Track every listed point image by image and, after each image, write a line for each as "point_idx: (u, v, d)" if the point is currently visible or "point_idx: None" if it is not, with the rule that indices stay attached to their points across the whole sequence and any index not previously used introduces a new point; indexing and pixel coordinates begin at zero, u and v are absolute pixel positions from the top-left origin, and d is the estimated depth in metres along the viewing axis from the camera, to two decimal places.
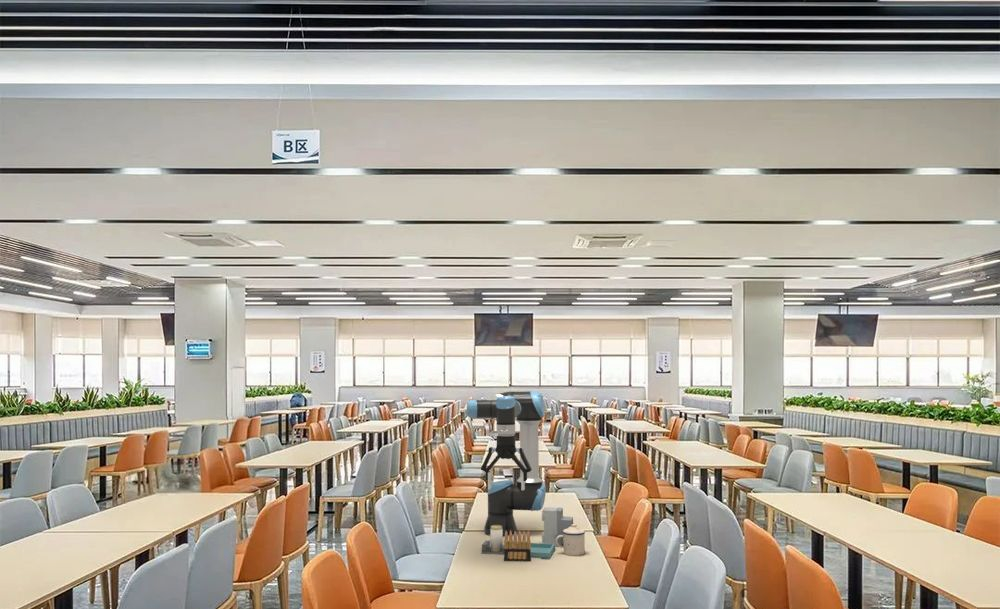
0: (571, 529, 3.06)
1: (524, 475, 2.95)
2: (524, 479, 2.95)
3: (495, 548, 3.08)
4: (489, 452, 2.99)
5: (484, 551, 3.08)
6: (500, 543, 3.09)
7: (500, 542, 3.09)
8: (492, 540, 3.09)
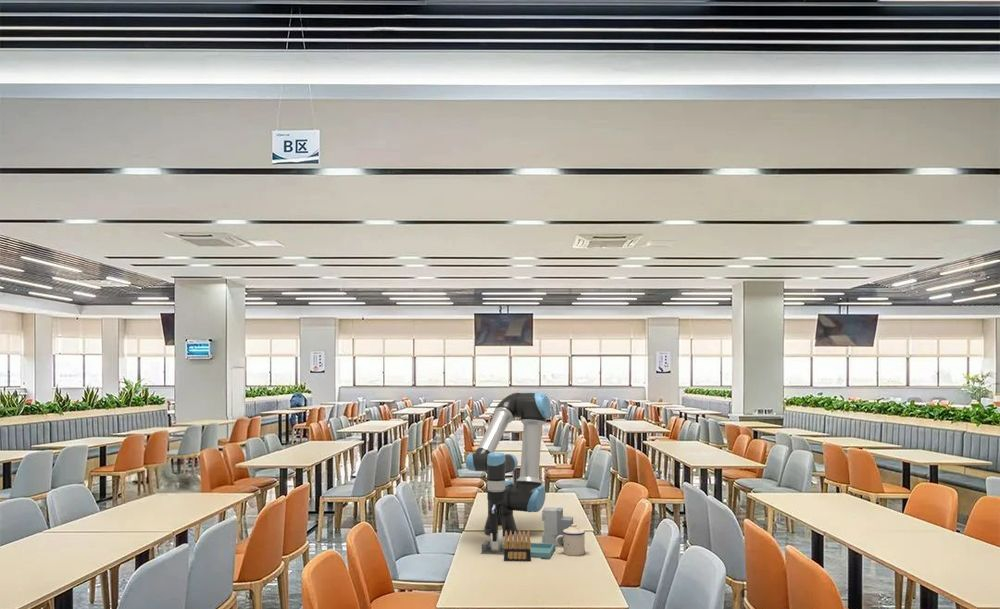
0: (571, 529, 3.06)
1: None
2: (492, 539, 3.07)
3: None
4: None
5: (484, 551, 3.08)
6: (500, 543, 3.09)
7: (501, 542, 3.09)
8: None
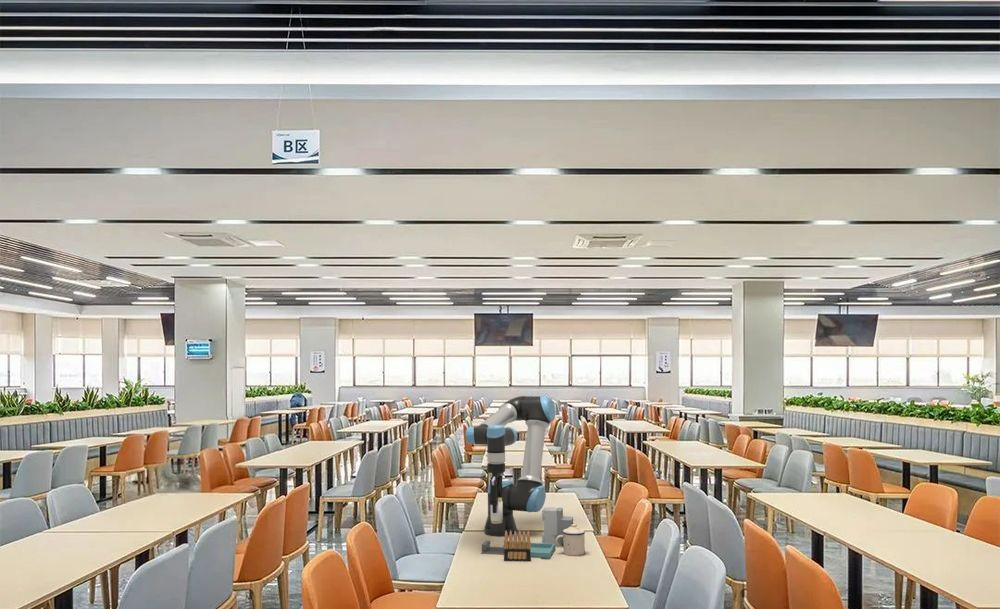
0: (571, 529, 3.06)
1: None
2: (493, 510, 3.08)
3: None
4: None
5: (484, 551, 3.08)
6: (500, 515, 3.10)
7: (501, 513, 3.10)
8: None
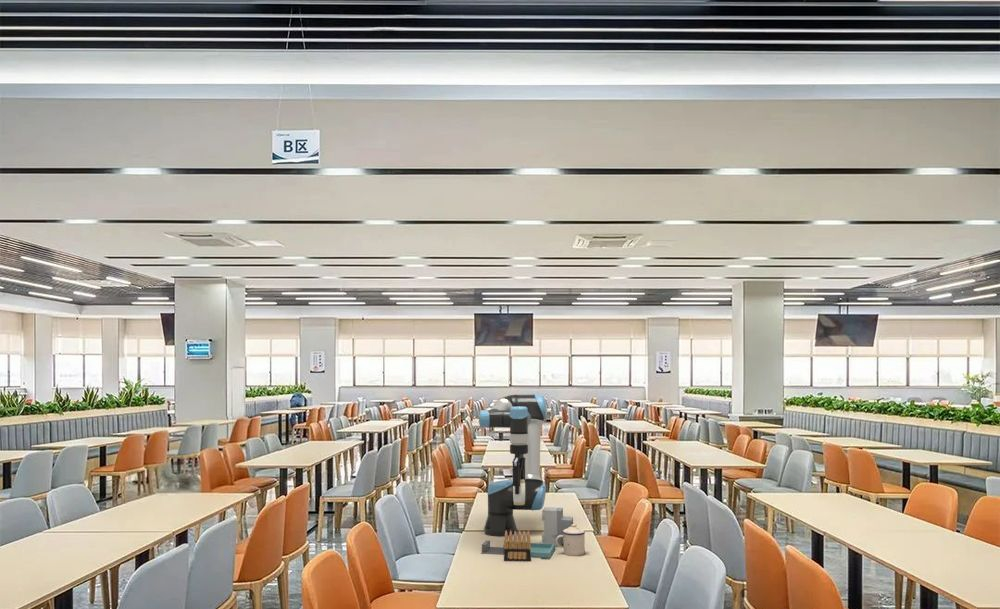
0: (571, 529, 3.06)
1: None
2: None
3: None
4: None
5: (484, 551, 3.08)
6: (523, 496, 3.08)
7: (523, 495, 3.08)
8: None
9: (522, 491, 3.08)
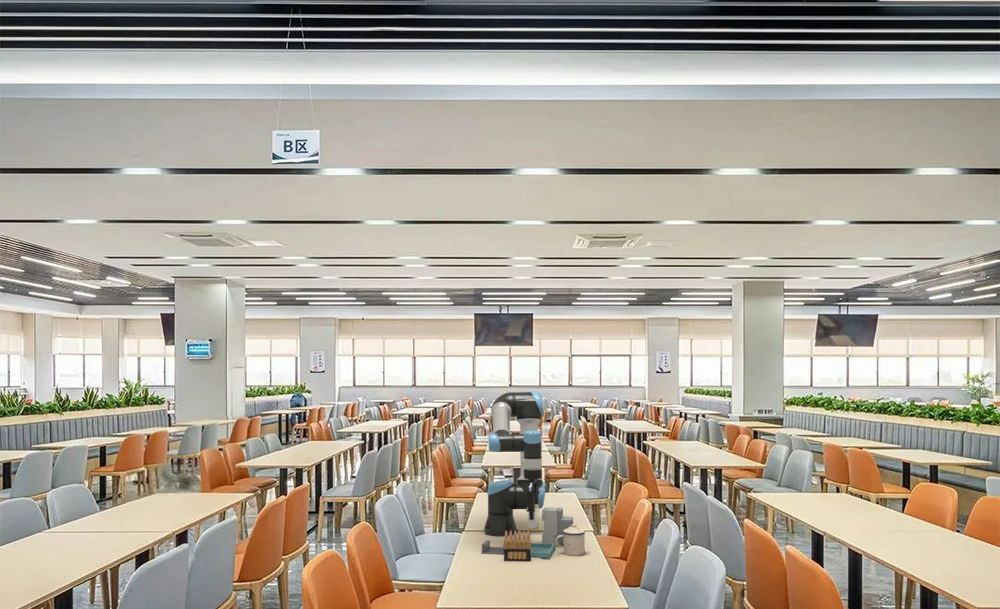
0: (571, 529, 3.06)
1: (529, 513, 3.05)
2: (529, 517, 3.04)
3: None
4: None
5: (484, 551, 3.08)
6: (537, 522, 3.06)
7: (537, 520, 3.06)
8: None
9: (536, 516, 3.06)
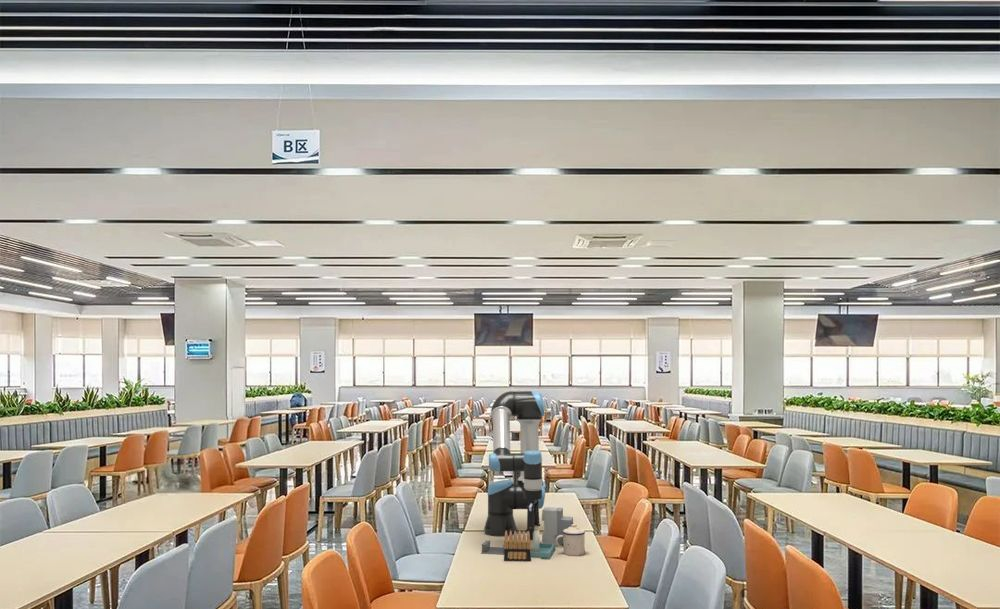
0: (571, 529, 3.06)
1: None
2: None
3: (532, 549, 3.05)
4: None
5: (484, 551, 3.08)
6: (537, 544, 3.05)
7: (538, 542, 3.06)
8: None
9: (537, 538, 3.05)
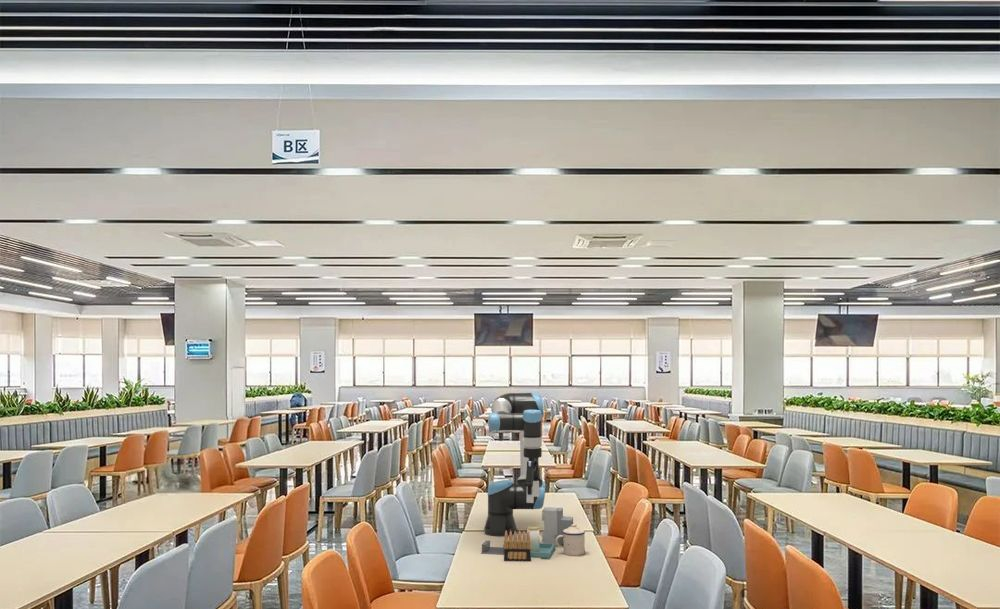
0: (571, 529, 3.06)
1: (527, 488, 3.02)
2: (527, 492, 3.02)
3: (532, 549, 3.05)
4: None
5: (484, 551, 3.08)
6: (537, 544, 3.05)
7: (538, 542, 3.06)
8: None
9: (537, 538, 3.05)
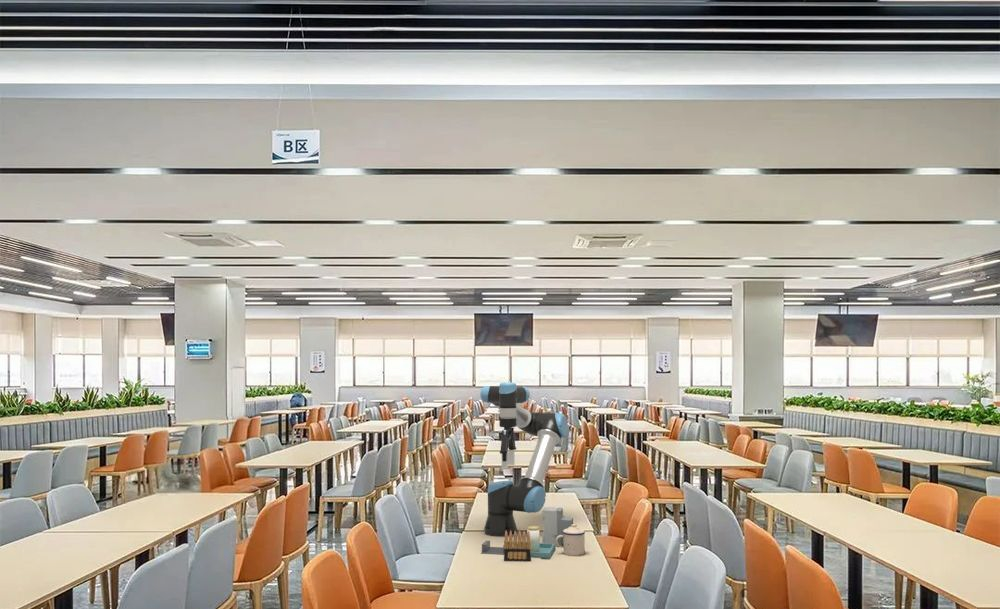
0: (571, 529, 3.06)
1: None
2: (502, 459, 3.20)
3: (532, 549, 3.05)
4: None
5: (484, 551, 3.08)
6: (537, 544, 3.05)
7: (538, 542, 3.06)
8: None
9: (537, 538, 3.05)
